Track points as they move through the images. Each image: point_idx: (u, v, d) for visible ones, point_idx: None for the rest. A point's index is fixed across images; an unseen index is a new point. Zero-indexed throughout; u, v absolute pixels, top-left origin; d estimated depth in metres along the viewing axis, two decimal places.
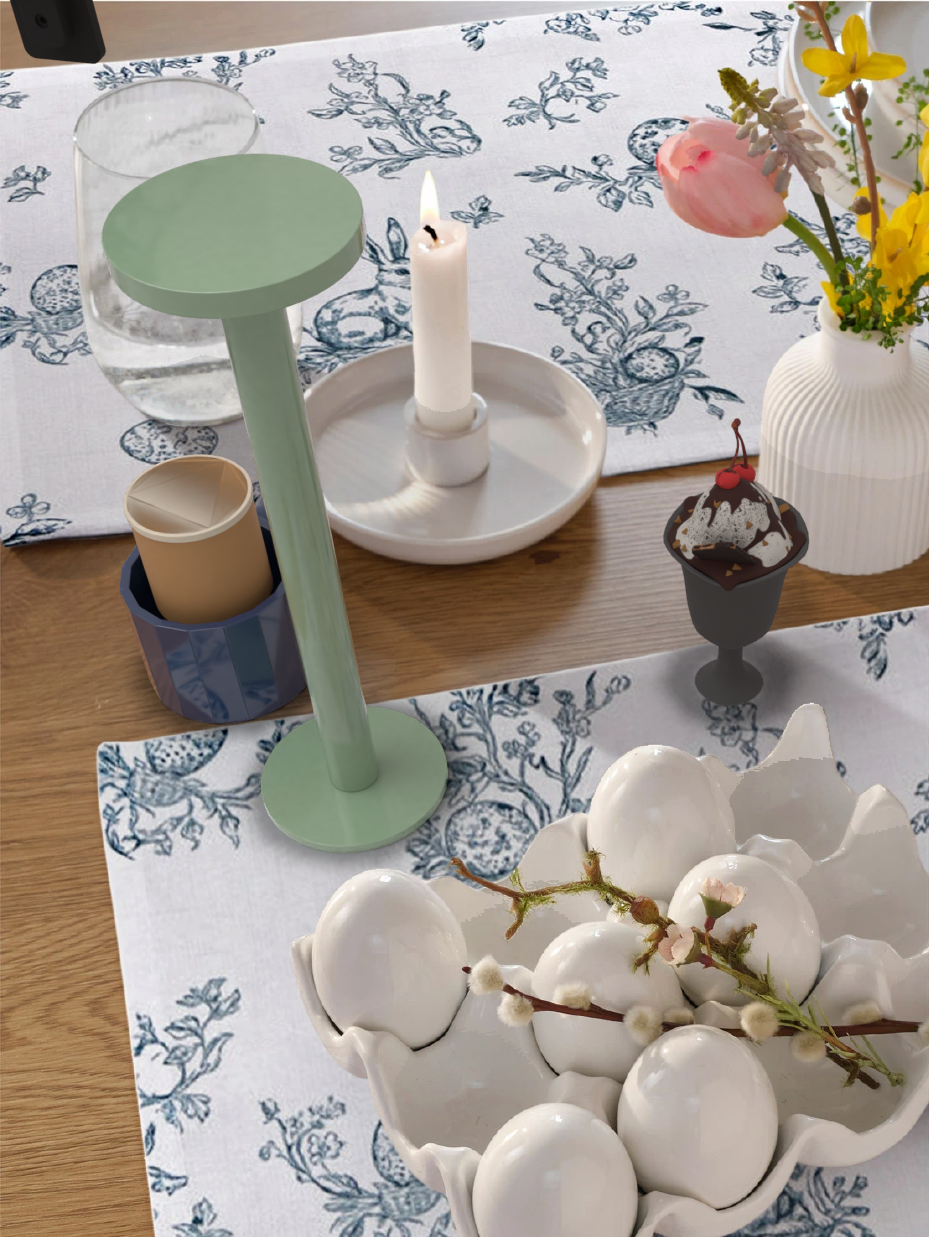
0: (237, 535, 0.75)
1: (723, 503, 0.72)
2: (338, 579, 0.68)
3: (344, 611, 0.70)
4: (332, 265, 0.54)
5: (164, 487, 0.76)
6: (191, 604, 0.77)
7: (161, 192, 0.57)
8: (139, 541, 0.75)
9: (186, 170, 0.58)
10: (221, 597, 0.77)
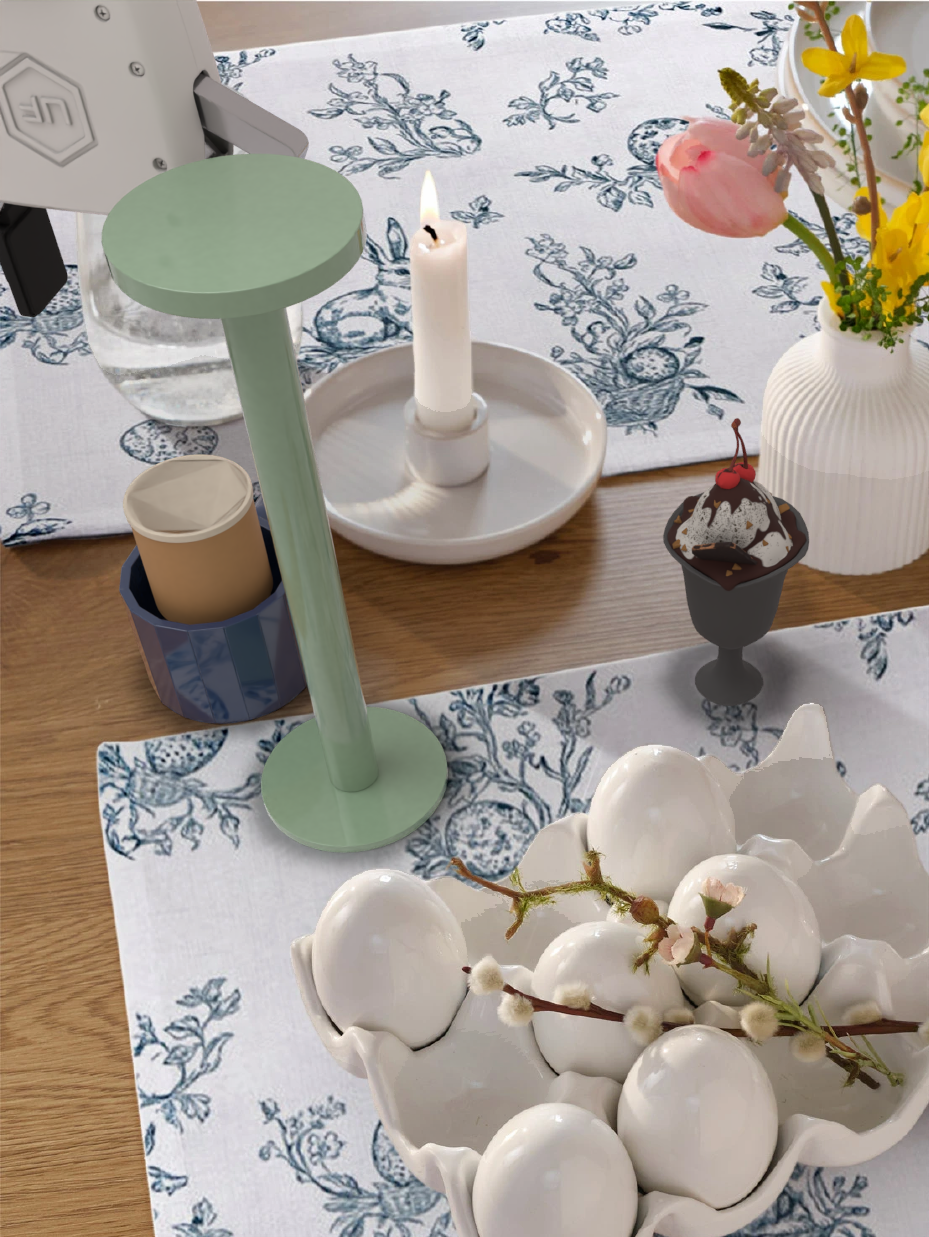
0: (237, 535, 0.75)
1: (723, 503, 0.72)
2: (338, 579, 0.68)
3: (344, 611, 0.70)
4: (332, 265, 0.54)
5: (164, 487, 0.76)
6: (191, 604, 0.77)
7: (161, 192, 0.57)
8: (139, 541, 0.75)
9: (186, 170, 0.58)
10: (221, 597, 0.77)
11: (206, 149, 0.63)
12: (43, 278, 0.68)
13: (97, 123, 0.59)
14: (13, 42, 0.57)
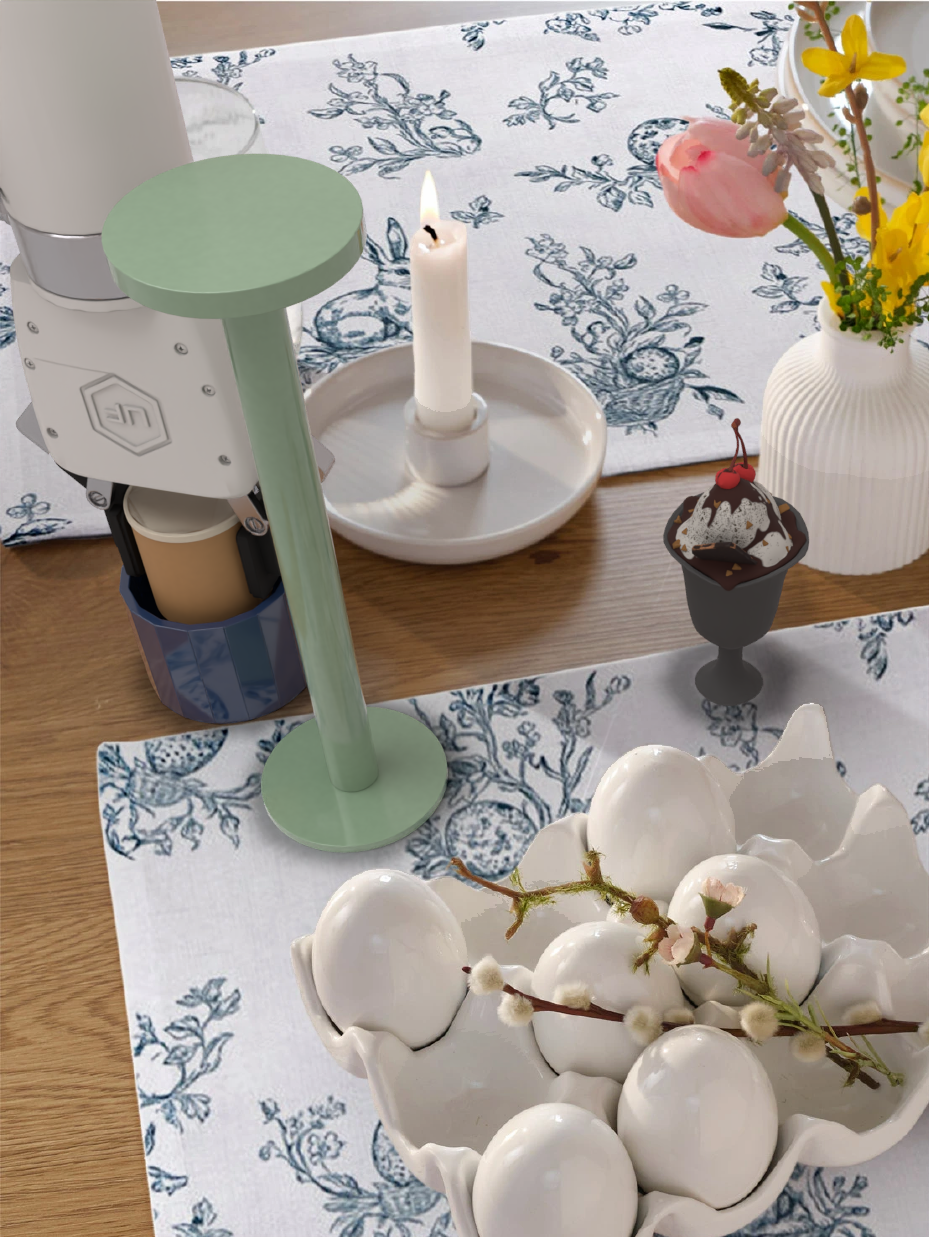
0: None
1: (723, 503, 0.72)
2: (338, 579, 0.68)
3: (344, 611, 0.70)
4: (332, 265, 0.54)
5: None
6: (191, 604, 0.77)
7: (161, 192, 0.57)
8: (139, 541, 0.75)
9: (186, 170, 0.58)
10: (221, 598, 0.77)
11: None
12: None
13: (172, 427, 0.69)
14: (102, 365, 0.67)
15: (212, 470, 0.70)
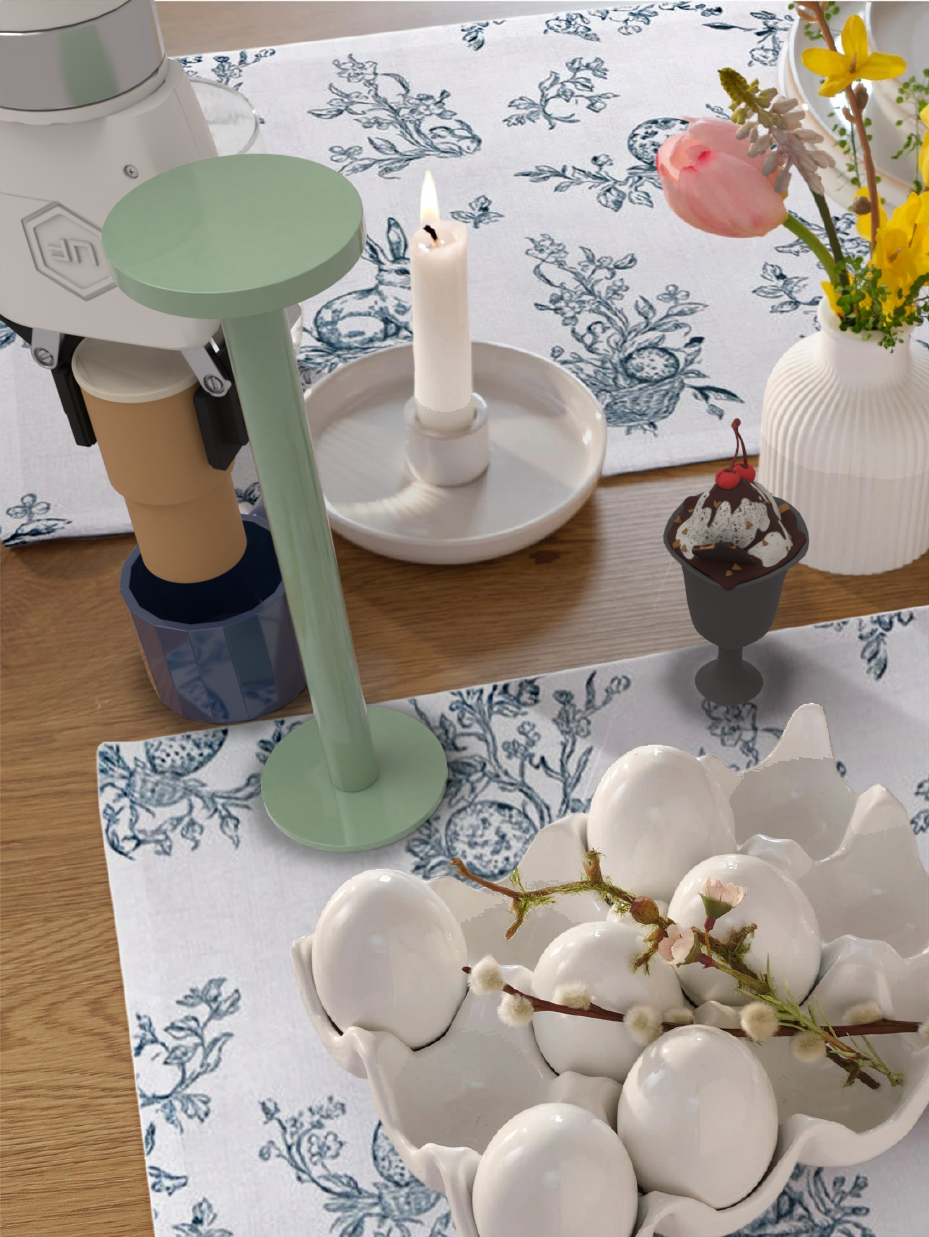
0: None
1: (723, 503, 0.72)
2: (338, 579, 0.68)
3: (344, 611, 0.70)
4: (332, 265, 0.54)
5: (117, 346, 0.70)
6: (145, 475, 0.71)
7: (161, 192, 0.57)
8: (89, 403, 0.69)
9: (186, 170, 0.58)
10: (178, 468, 0.71)
11: None
12: None
13: None
14: (45, 192, 0.61)
15: (166, 316, 0.64)
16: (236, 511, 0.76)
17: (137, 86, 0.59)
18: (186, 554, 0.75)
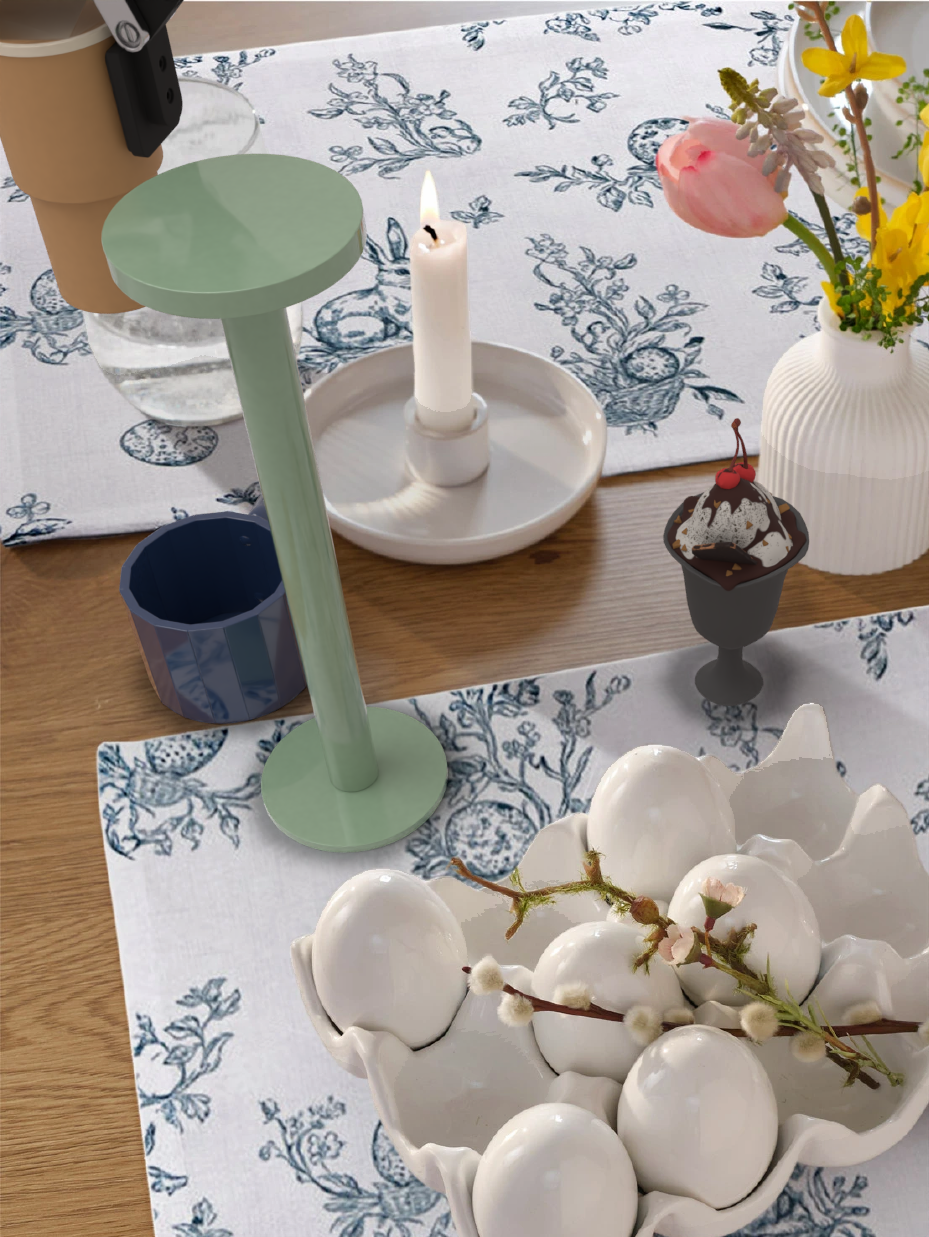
0: None
1: (723, 503, 0.72)
2: (338, 579, 0.68)
3: (344, 611, 0.70)
4: (332, 265, 0.54)
5: (16, 2, 0.59)
6: (52, 161, 0.60)
7: (161, 192, 0.57)
8: None
9: (186, 170, 0.58)
10: (91, 152, 0.60)
11: None
12: None
13: None
14: None
15: None
16: None
17: None
18: (106, 274, 0.64)
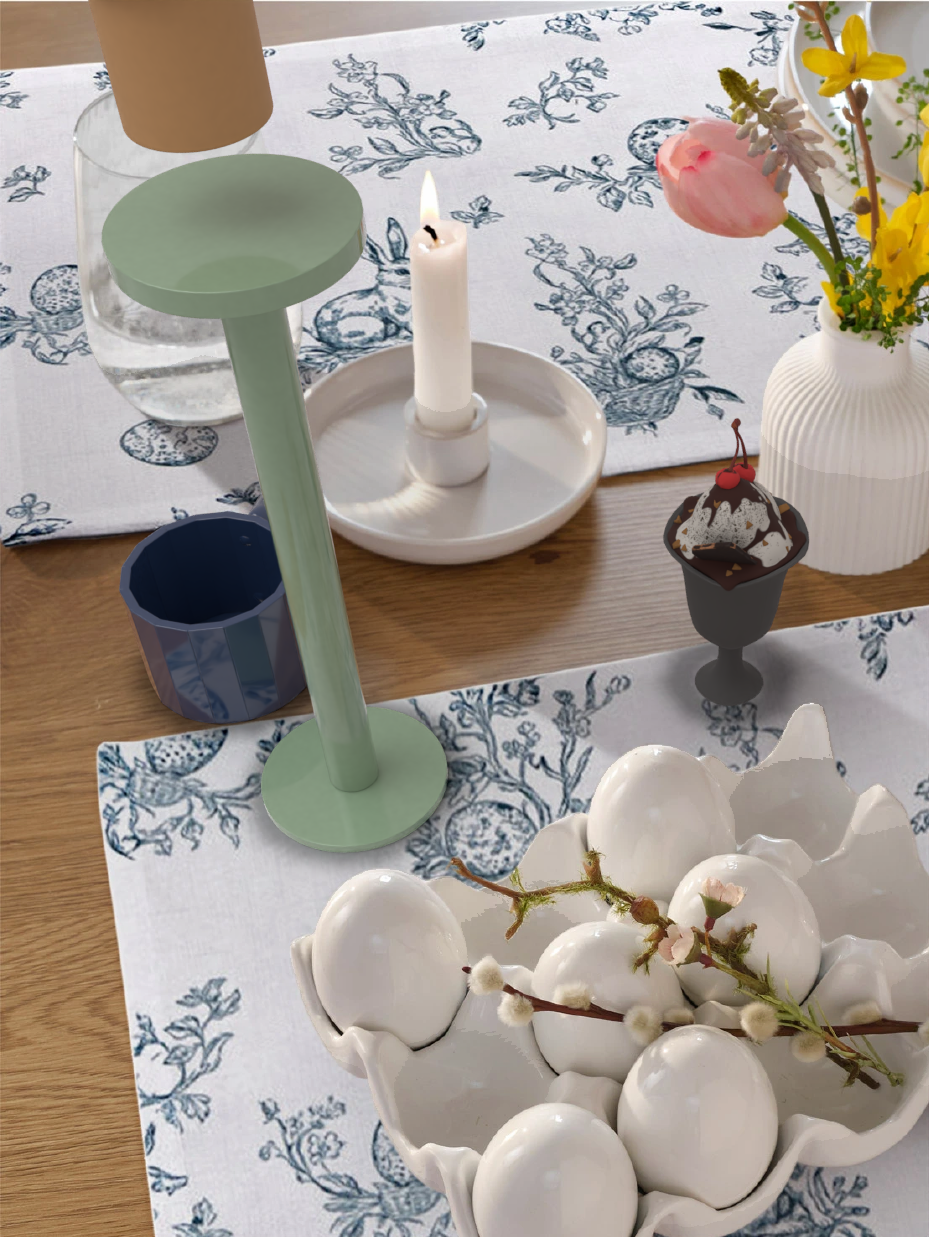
0: None
1: (723, 503, 0.72)
2: (338, 579, 0.68)
3: (344, 611, 0.70)
4: (332, 265, 0.54)
5: None
6: None
7: (161, 192, 0.57)
8: None
9: (186, 170, 0.58)
10: None
11: None
12: None
13: None
14: None
15: None
16: (257, 42, 0.52)
17: None
18: (185, 99, 0.51)
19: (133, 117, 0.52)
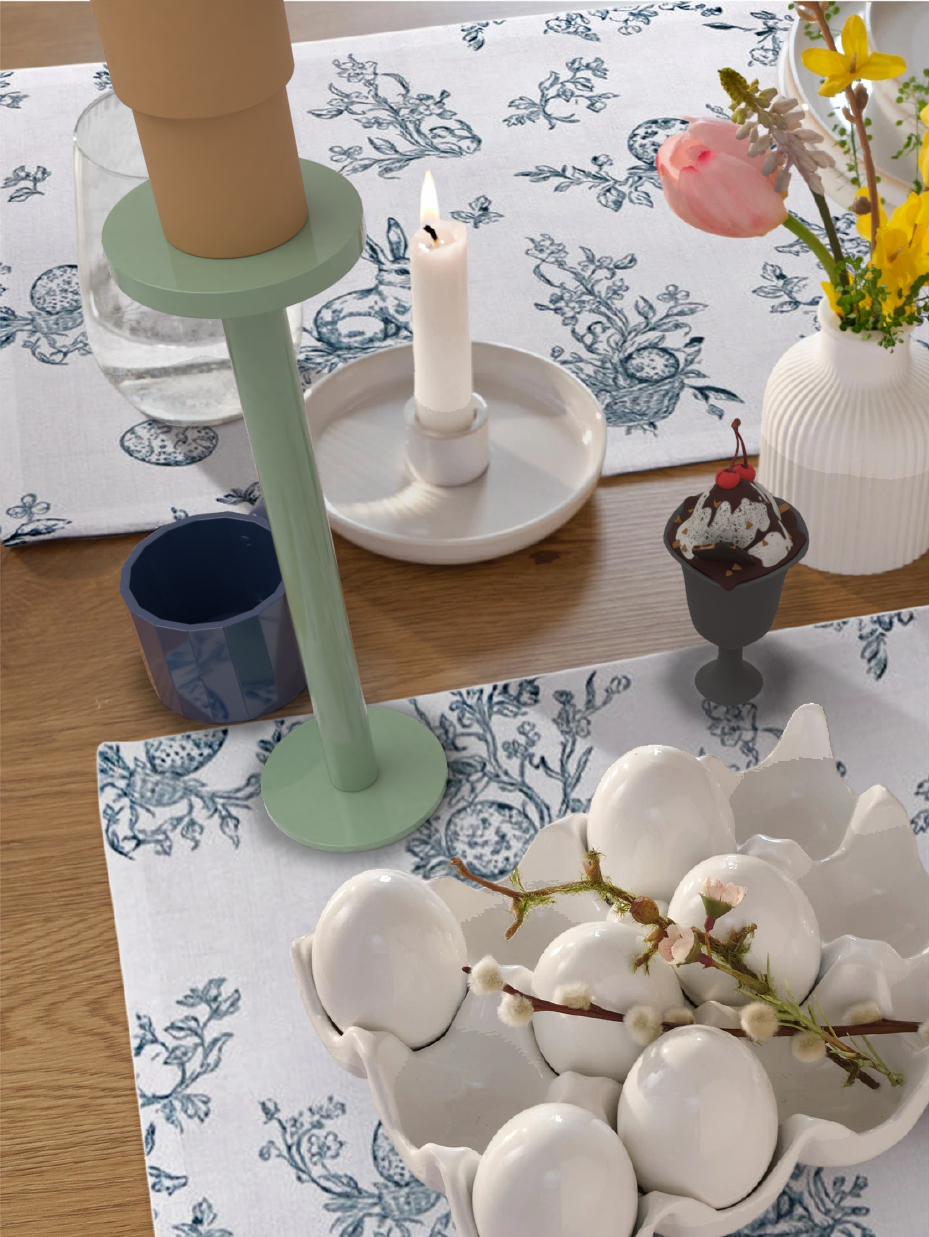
0: None
1: (723, 503, 0.72)
2: (338, 579, 0.68)
3: (344, 611, 0.70)
4: (332, 265, 0.54)
5: None
6: (167, 65, 0.49)
7: None
8: None
9: None
10: (214, 54, 0.49)
11: None
12: None
13: None
14: None
15: None
16: (295, 153, 0.54)
17: None
18: (225, 209, 0.53)
19: (174, 224, 0.54)
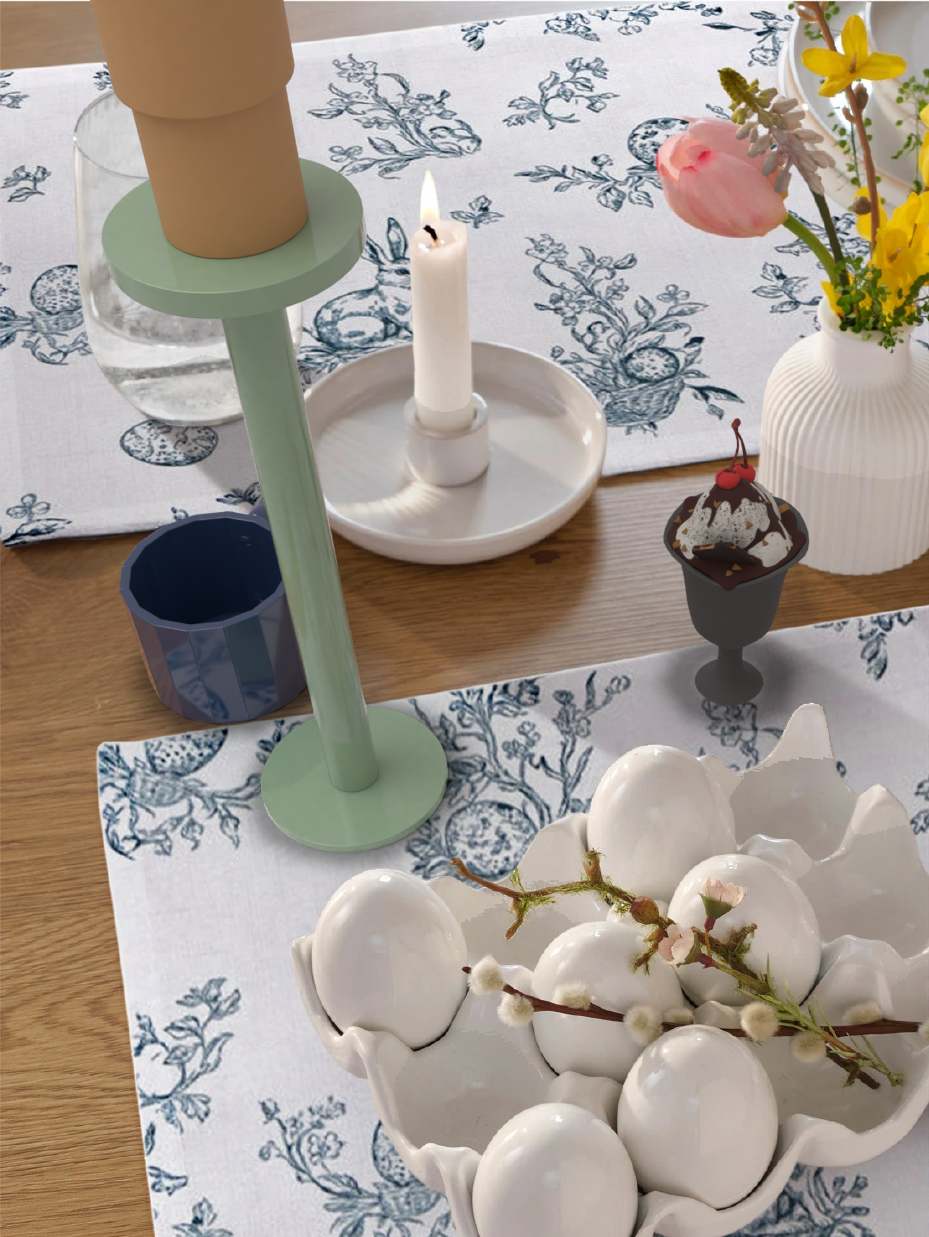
0: None
1: (723, 503, 0.72)
2: (338, 579, 0.68)
3: (344, 611, 0.70)
4: (332, 265, 0.54)
5: None
6: (167, 65, 0.49)
7: None
8: None
9: None
10: (214, 54, 0.49)
11: None
12: None
13: None
14: None
15: None
16: (295, 153, 0.54)
17: None
18: (225, 209, 0.53)
19: (174, 224, 0.54)
